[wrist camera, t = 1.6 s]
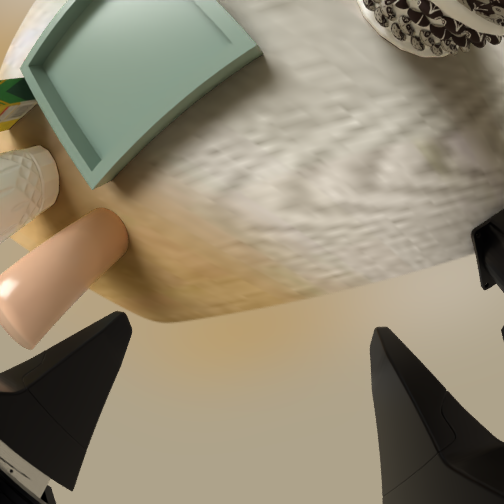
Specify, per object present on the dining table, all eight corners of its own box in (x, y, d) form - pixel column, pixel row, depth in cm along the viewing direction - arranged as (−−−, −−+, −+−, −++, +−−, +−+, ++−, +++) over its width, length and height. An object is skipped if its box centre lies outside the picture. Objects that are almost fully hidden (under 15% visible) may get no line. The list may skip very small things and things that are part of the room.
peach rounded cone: (138, 242, 23) (41, 340, 12) (109, 266, 25) (26, 355, 14) (104, 196, 21) (-10, 272, 10) (78, 226, 23) (-17, 300, 12)
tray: (263, 53, 15) (256, 44, 12) (111, 180, 21) (92, 189, 18) (152, -54, 10) (137, -65, 8) (39, 67, 16) (19, 68, 14)
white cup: (73, 206, 22) (-6, 257, 14) (32, 219, 24) (-33, 262, 16) (53, 127, 19) (-36, 155, 10) (14, 153, 21) (-57, 183, 12)
